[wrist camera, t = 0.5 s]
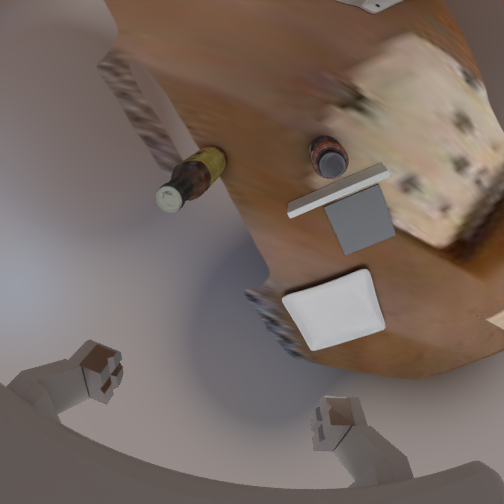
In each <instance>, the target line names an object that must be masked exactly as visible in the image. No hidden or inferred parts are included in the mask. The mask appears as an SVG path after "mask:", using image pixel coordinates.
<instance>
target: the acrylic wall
mask: <svg viewBox="0 0 504 504" xmlns="http://www.w3.org/2000/svg"><path fill="white" fill-rule="evenodd" d="M387 177H390V173H389V170H388V169H387V168H386V167H385V166H383V165H382V164H381V163H380V164H378V165H375V166H373V167H370V168H368V169H366V170H363V171H361V172H359V173H356V174H354V175H351V176H349V177H347V178H344V179H342V180H340V181H337V182H335V183H333V184H330V185H328V186H326V187H324V188H321V189H319V190H317V191H314V192H312V193H310V194H308V195H305V196H303V197H301V198H299V199H296V200H294V201H292V202H290V203H288V210H287V214H288V216H289V218H290V219H291V218H293V217H295V216H298V215H300V214H302V213H305V212H307V211H309V210H312V209H314V208H316V207H319V206H321V205H323V204H326V203H328V202H330V201H333V200H335V199H337V198H340V197H342V196H344V195H347V194H349V193H352V192H354V191H356V190H359V189H361V188H363V187H366V186H368V185H371V184H373V183H375V182H378V181H380V180H383V179H385V178H387Z"/></svg>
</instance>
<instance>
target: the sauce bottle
mask: <svg viewBox="0 0 504 504" xmlns="http://www.w3.org/2000/svg"><path fill="white" fill-rule="evenodd" d="M226 161H227V159H226V156H225V154H224V152H223V151H222V150H221V149H219V148H217V147H213V146H209V147H205V148H202V149H201V150H199V151H198V152H196V153H195V154H193V155H191V156H190V157H188V158H187V159H186V160H184V161H183V162H181V163H180V164H178V165H177V166H176V167H175V169H174V170H173V173H172V177H171V180H170V182H168V183H165V184H164V185H162V186H161V187H160V188H159V189H158V191H157V194H156V201H157V204H158V205H159V207H160V208H161V209H162V210H163V211H165V212H168V213H174V212H177V211H178V210H180V209H181V208H182V207H183V205H184V203H185V201H186V200H193V199H196V198H198V197H199V196H201V195H202V194H203V193H204V192H205V191H206V190H207V189H208V188H209V187H210V186H211V185H212V183H213V182H214V181H215V180H216V179H217V178H218V177H219V176H220V175H221V174H222V172H223V171H224V169H225V167H226Z"/></svg>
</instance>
